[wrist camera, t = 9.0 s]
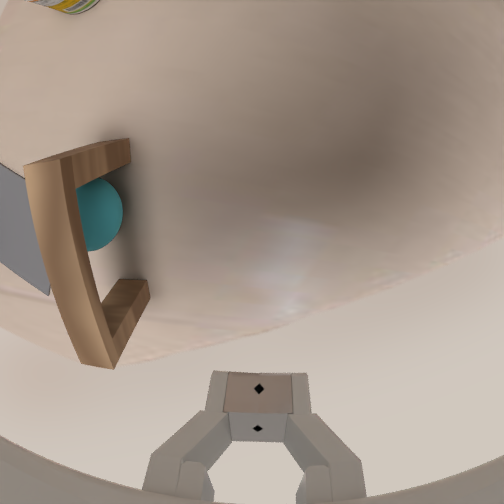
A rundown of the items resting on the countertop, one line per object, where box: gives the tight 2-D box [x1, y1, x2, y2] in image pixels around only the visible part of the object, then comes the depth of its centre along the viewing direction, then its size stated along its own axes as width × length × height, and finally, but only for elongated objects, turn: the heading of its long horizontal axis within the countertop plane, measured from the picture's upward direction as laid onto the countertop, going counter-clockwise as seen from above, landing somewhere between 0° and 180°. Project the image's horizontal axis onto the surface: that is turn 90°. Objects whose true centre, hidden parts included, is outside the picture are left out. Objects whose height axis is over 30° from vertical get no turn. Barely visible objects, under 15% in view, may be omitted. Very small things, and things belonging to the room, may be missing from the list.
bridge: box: [23, 138, 150, 370], centre depth 21 cm, size 3×15×10 cm, turn 0°
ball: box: [76, 177, 123, 251], centre depth 22 cm, size 6×6×6 cm
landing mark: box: [0, 163, 50, 296], centre depth 26 cm, size 12×12×1 cm
